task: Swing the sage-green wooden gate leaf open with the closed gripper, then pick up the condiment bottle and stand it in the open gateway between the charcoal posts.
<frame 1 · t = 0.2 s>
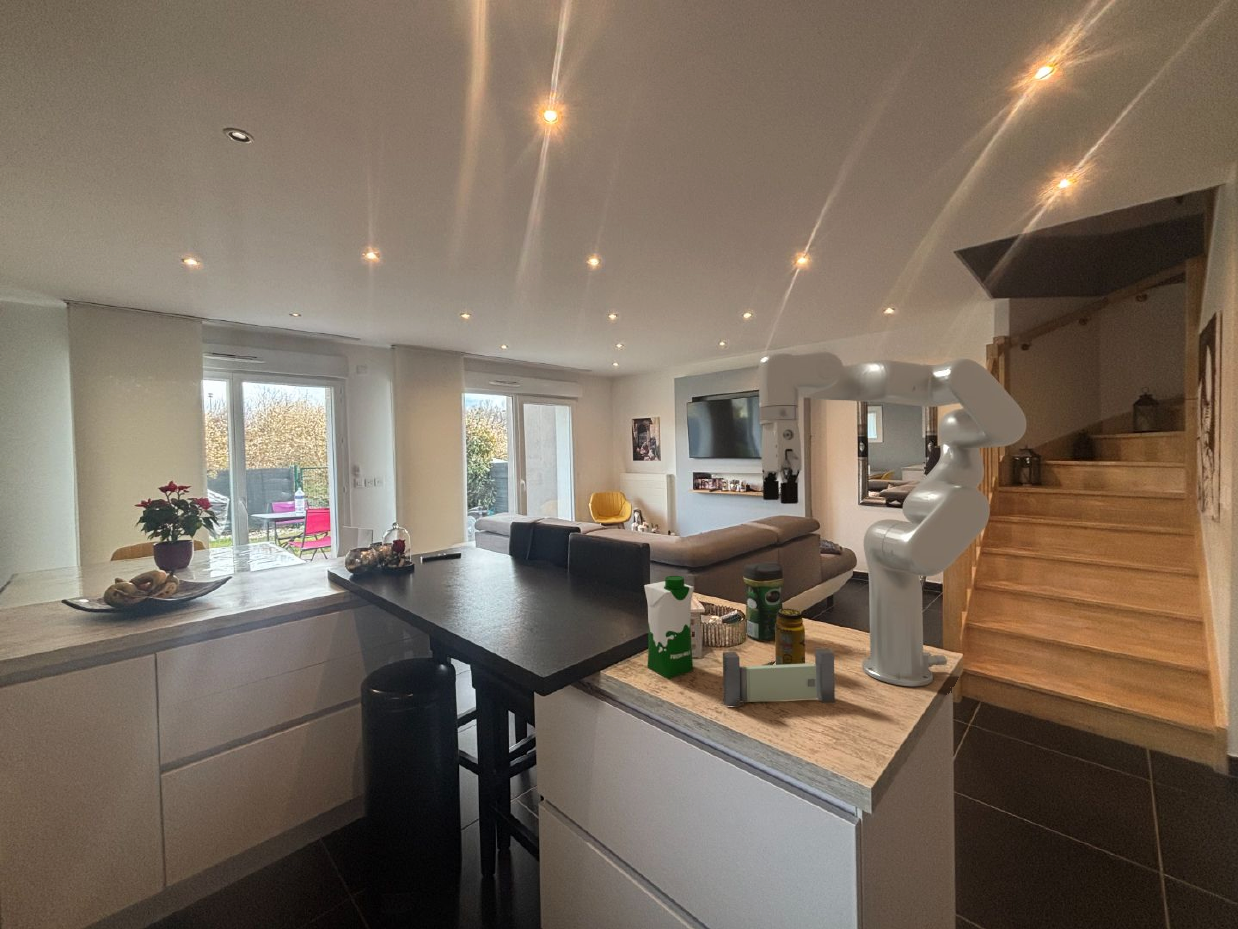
hand: (779, 501, 97), 36 cm above the countertop, tool pointing down, fingers open, 9 cm apart
condiment: (787, 669, 103), on the countertop
milk carton: (669, 669, 104), on the countertop
gate leaf: (777, 682, 89), point 3 cm above the countertop, hinge at 0.0°
gate posts: (778, 701, 89), on the countertop
coffee jar: (764, 636, 122), on the countertop
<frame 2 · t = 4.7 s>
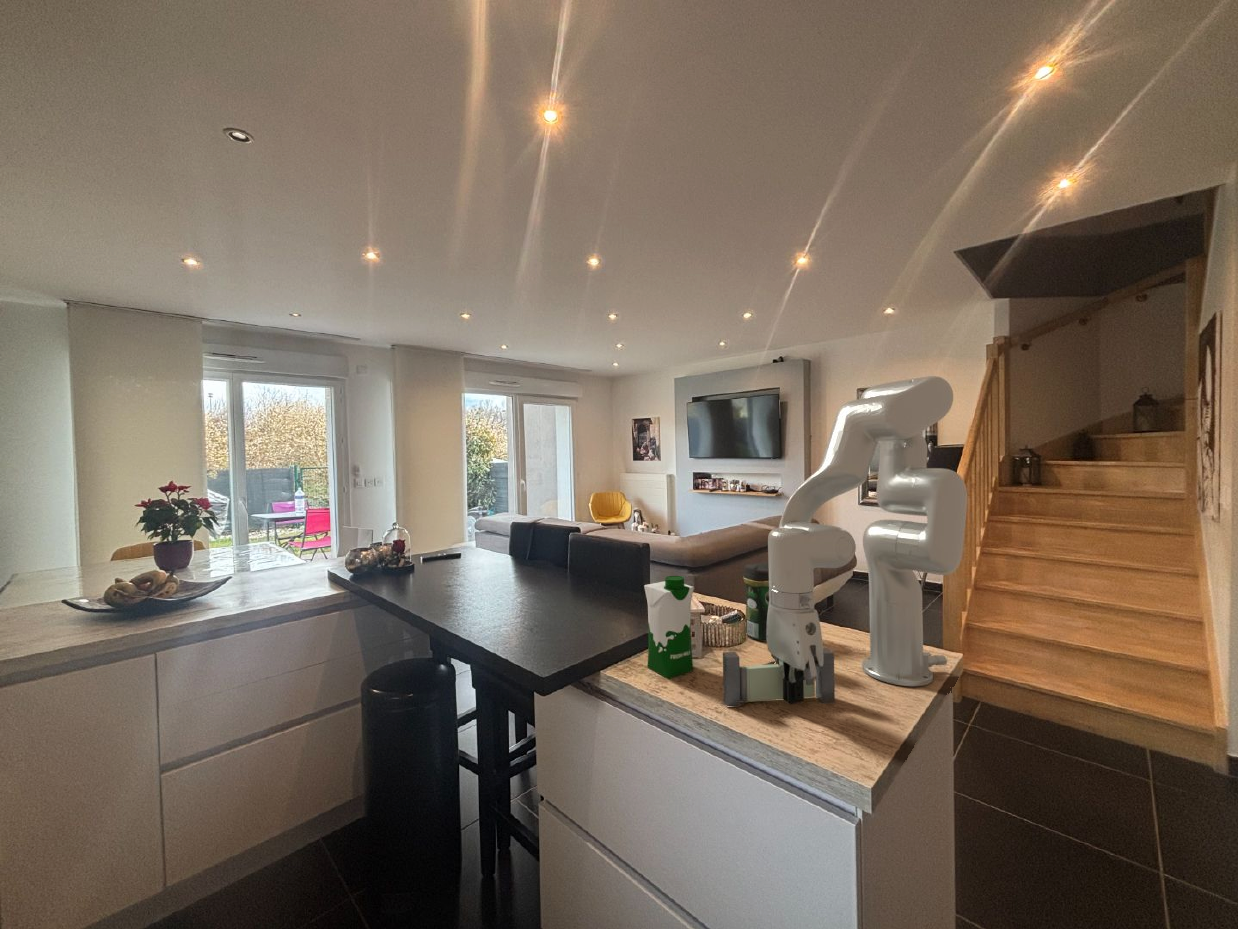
hand: (793, 700, 86), 2 cm above the countertop, tool pointing down, fingers closed
gate leaf: (776, 681, 89), point 3 cm above the countertop, hinge at 3.3°, touching gripper
everything else where it was.
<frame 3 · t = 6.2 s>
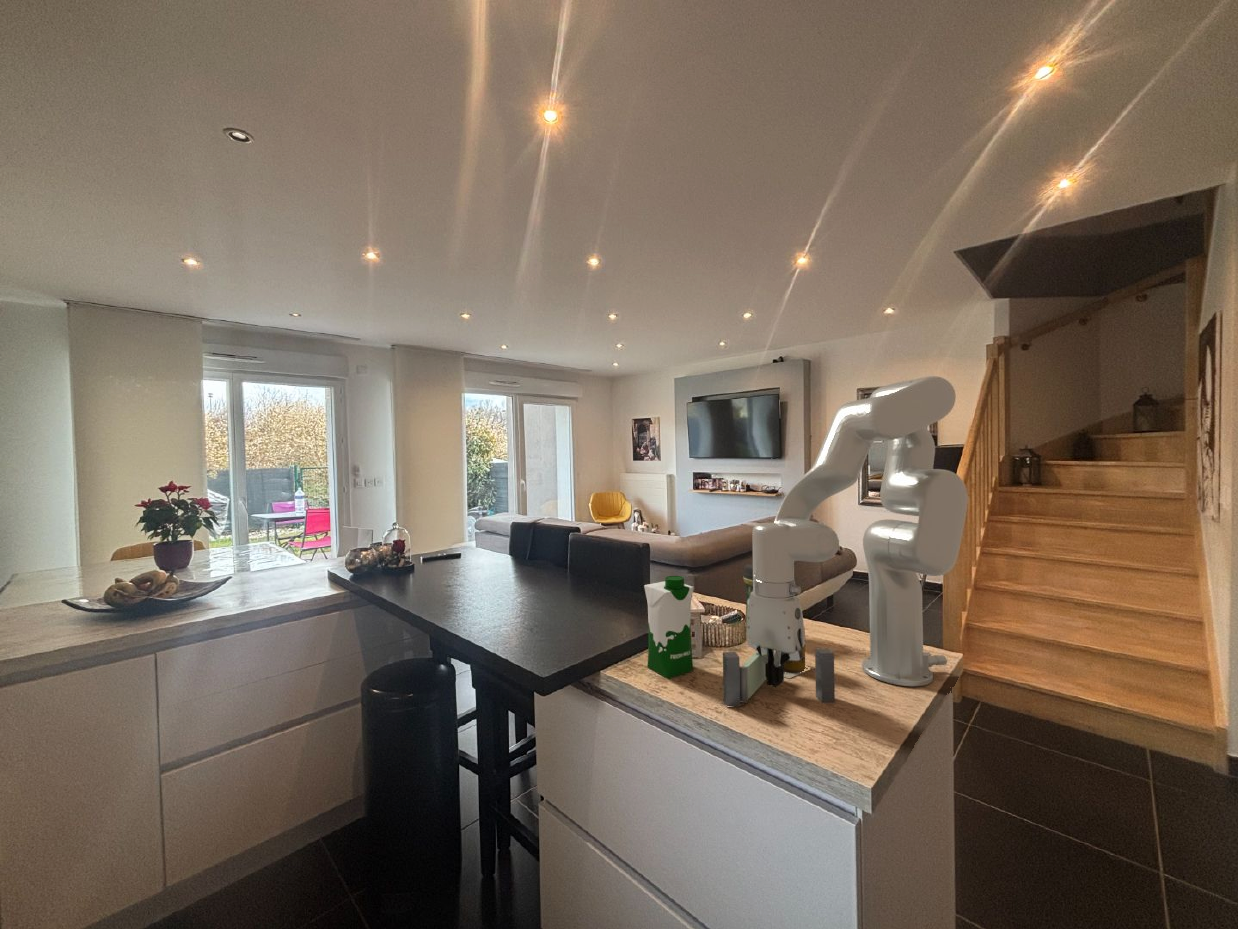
hand: (774, 683, 92), 2 cm above the countertop, tool pointing down, fingers closed
gate leaf: (755, 671, 94), point 3 cm above the countertop, hinge at 51.3°, touching gripper
everything else where it was.
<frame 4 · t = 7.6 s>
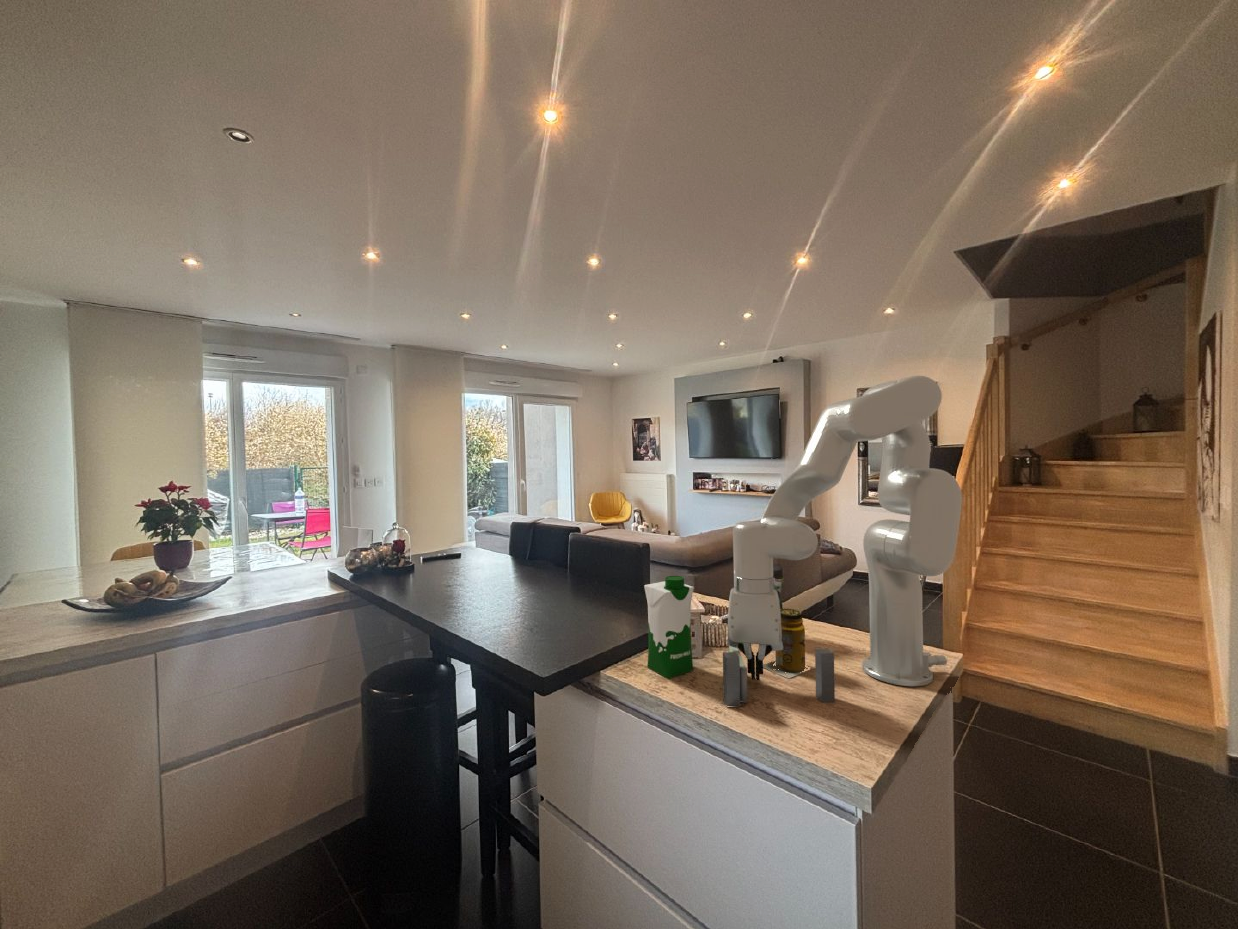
hand: (755, 677, 95), 2 cm above the countertop, tool pointing down, fingers closed
gate leaf: (737, 669, 95), point 4 cm above the countertop, hinge at 82.0°
everything else where it was.
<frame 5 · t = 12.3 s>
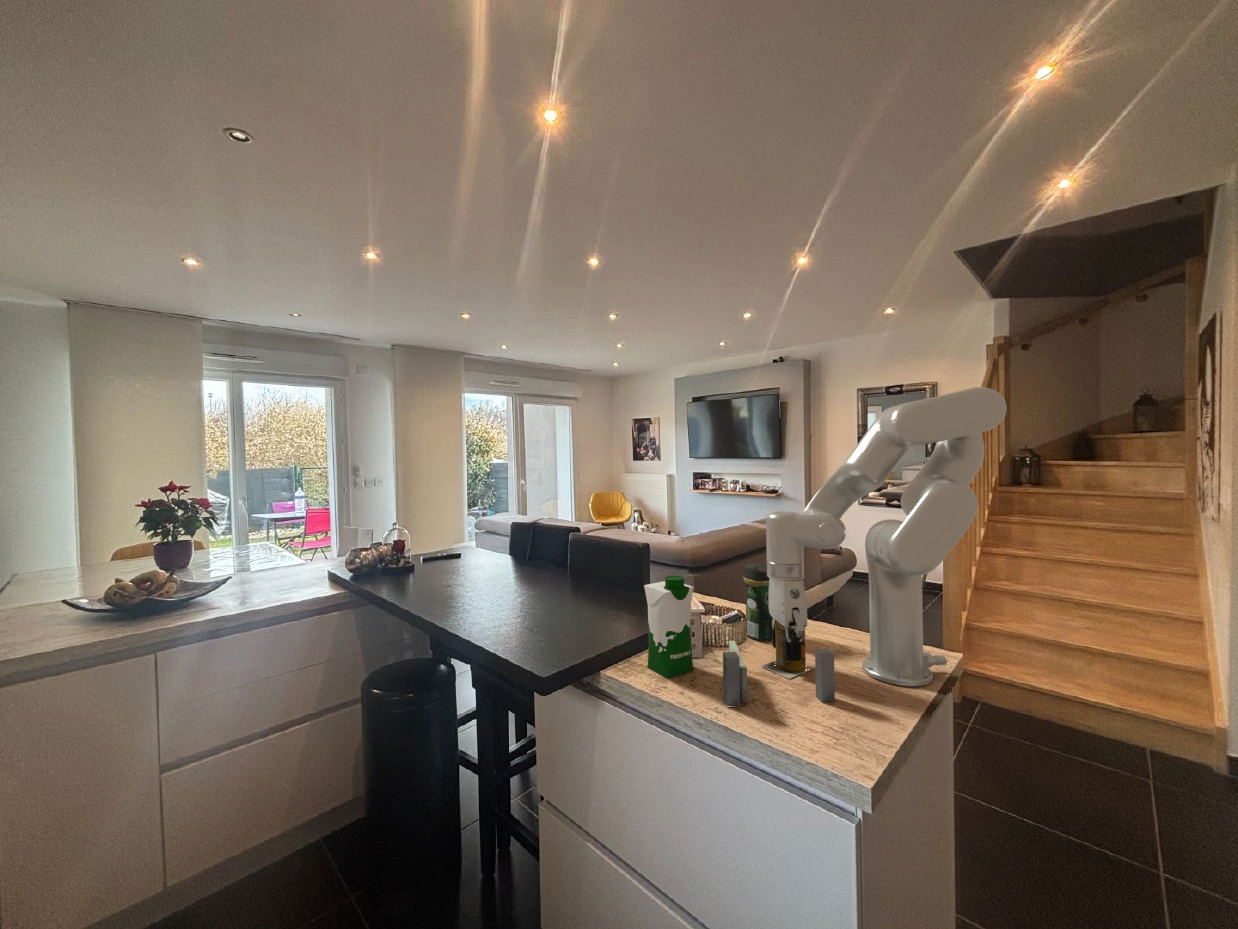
hand: (786, 652, 103), 3 cm above the countertop, tool pointing down, fingers closed on condiment, 6 cm apart
condiment: (787, 669, 103), on the countertop, touching gripper
everything else where it was.
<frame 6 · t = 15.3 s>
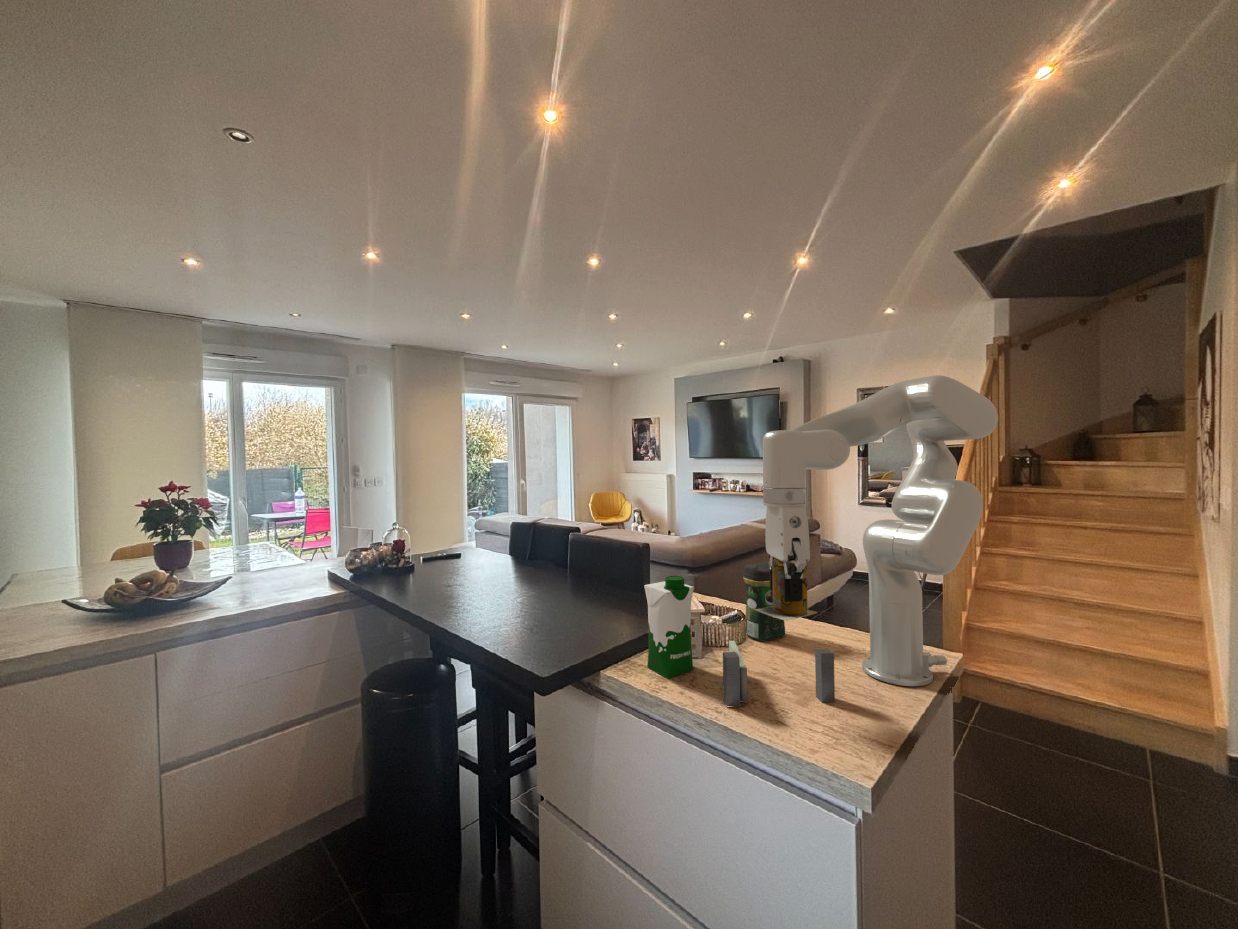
hand: (785, 594, 89), 20 cm above the countertop, tool pointing down, fingers closed on condiment, 6 cm apart
condiment: (786, 613, 88), point 16 cm above the countertop, touching gripper
everything else where it was.
when the fingers open (4 cm above the countertop, at t = 18.8 s): condiment drops 1 cm, on the countertop.
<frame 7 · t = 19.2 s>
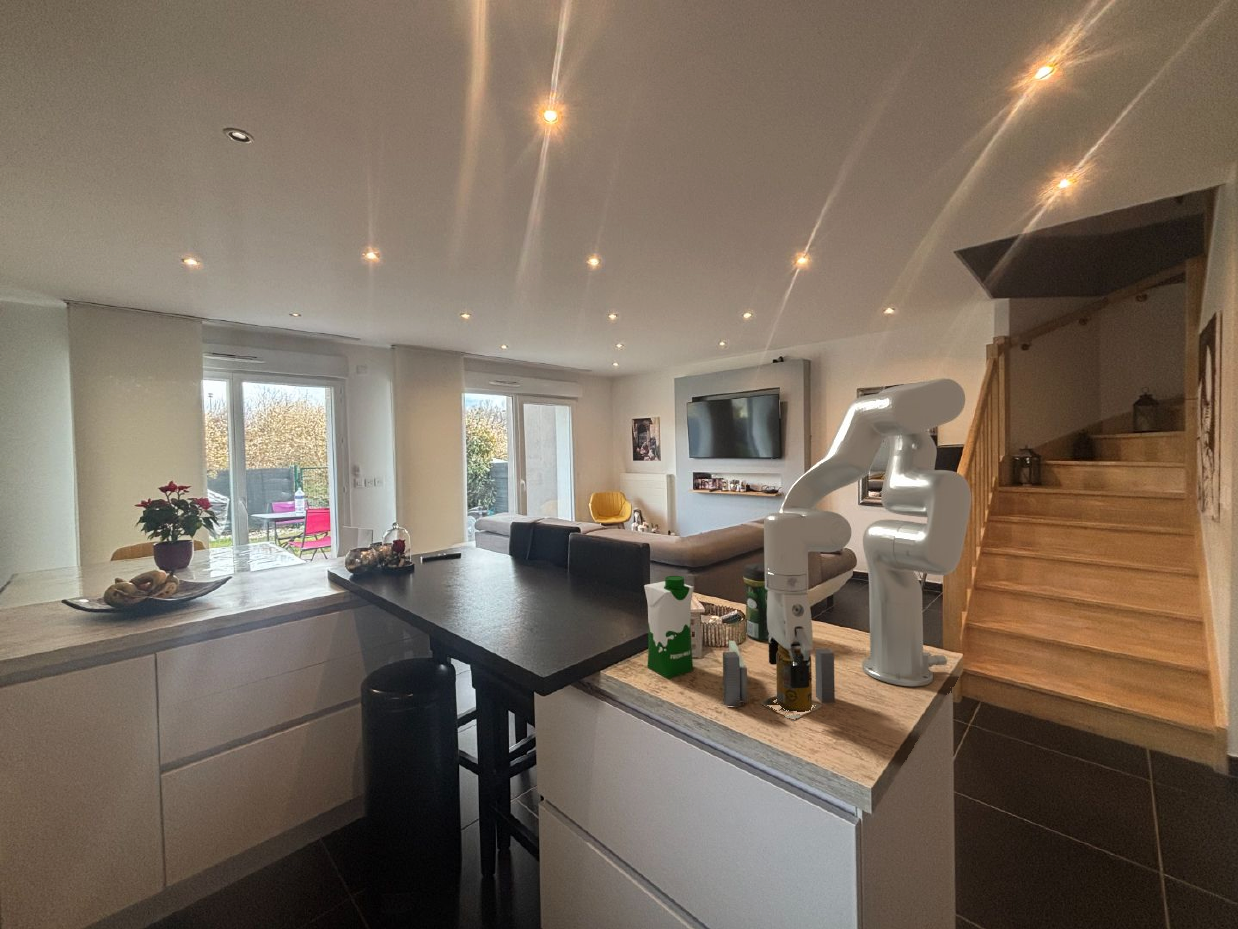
hand: (787, 674, 88), 5 cm above the countertop, tool pointing down, fingers open, 9 cm apart
condiment: (790, 706, 87), on the countertop
everything else where it was.
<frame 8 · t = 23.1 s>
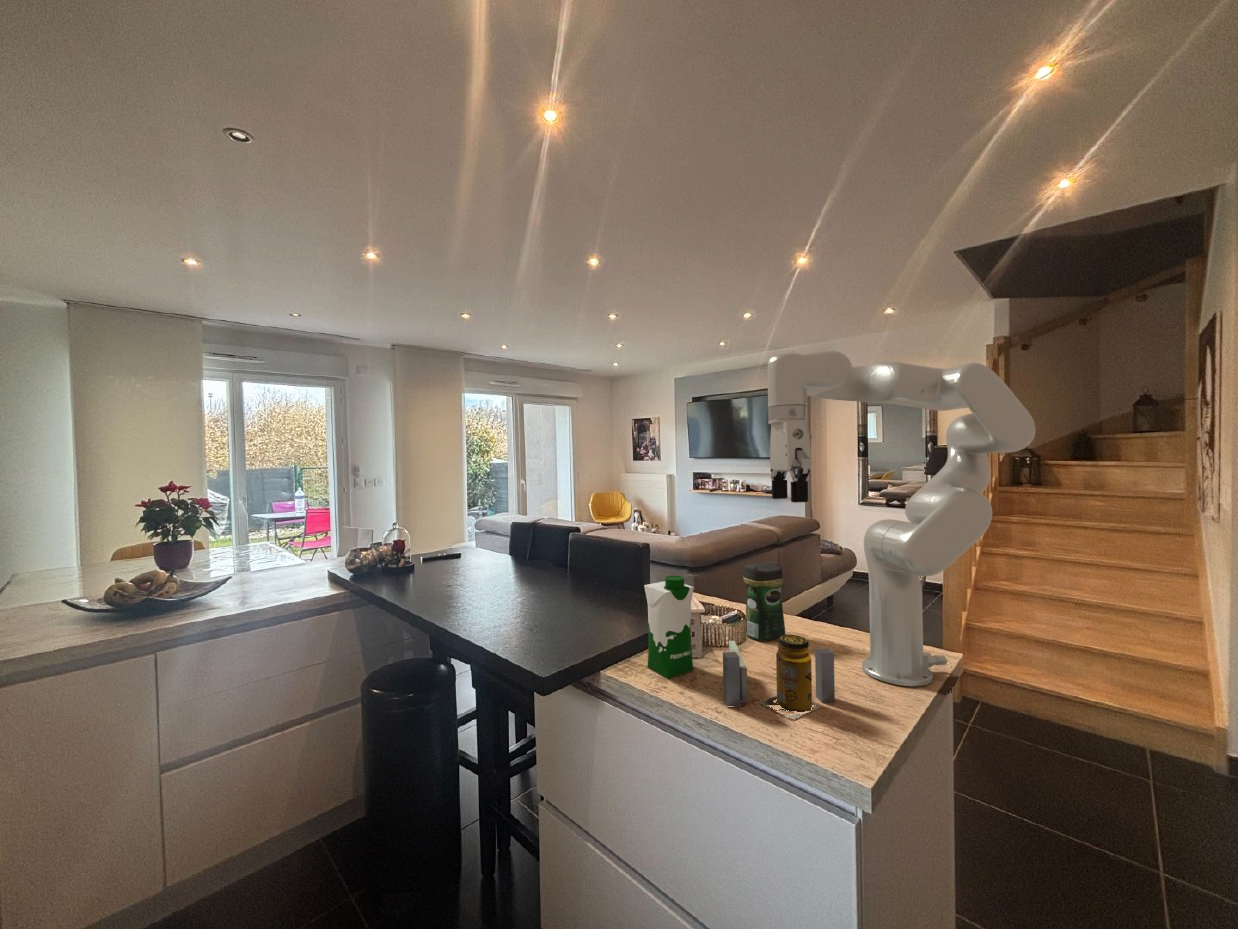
hand: (789, 500, 98), 36 cm above the countertop, tool pointing down, fingers open, 9 cm apart
nothing on the countertop moved.
at the end: gate leaf at +82° (first picture: +0°); condiment inside the target area (0.5 cm from its centre), on the countertop; condiment tilted 0° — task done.
